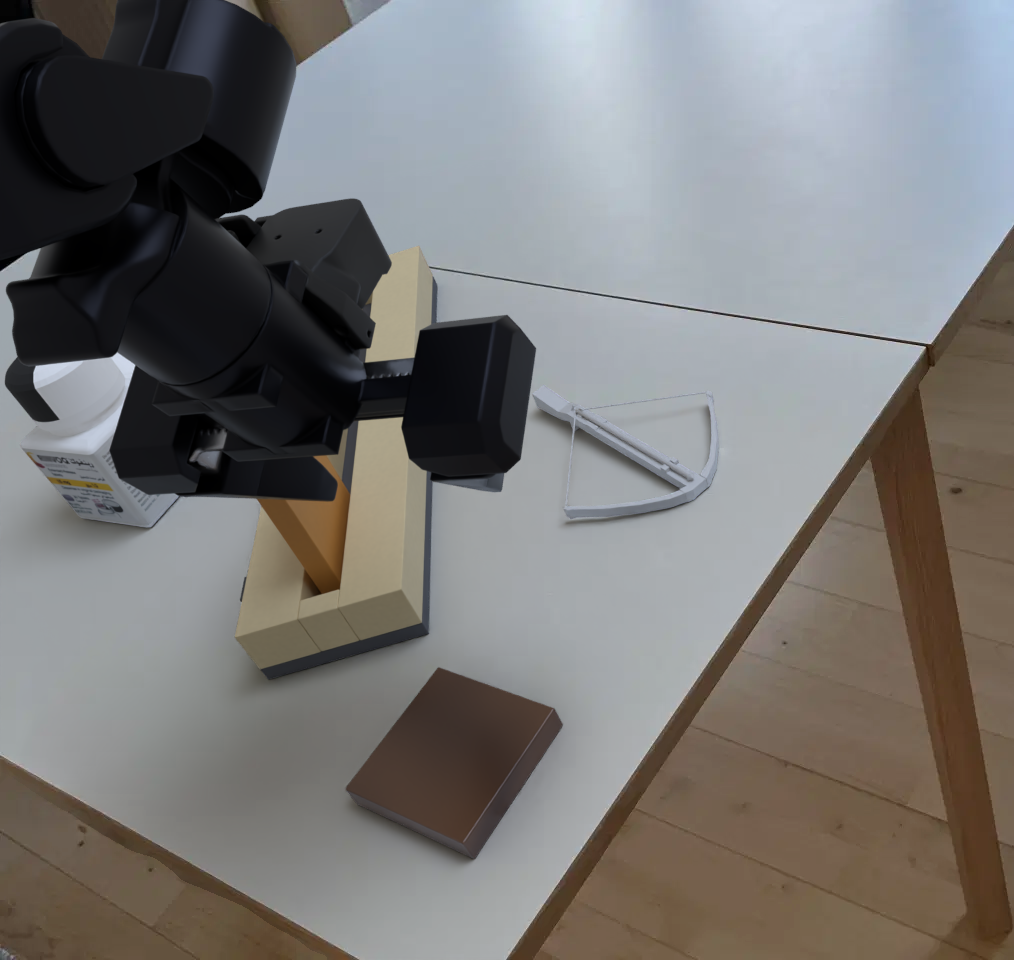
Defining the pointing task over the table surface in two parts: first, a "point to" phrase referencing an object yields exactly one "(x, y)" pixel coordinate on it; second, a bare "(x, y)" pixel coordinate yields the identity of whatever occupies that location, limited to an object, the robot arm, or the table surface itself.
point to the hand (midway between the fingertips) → (414, 487)
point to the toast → (315, 531)
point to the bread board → (455, 760)
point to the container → (81, 437)
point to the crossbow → (632, 456)
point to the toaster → (356, 522)
